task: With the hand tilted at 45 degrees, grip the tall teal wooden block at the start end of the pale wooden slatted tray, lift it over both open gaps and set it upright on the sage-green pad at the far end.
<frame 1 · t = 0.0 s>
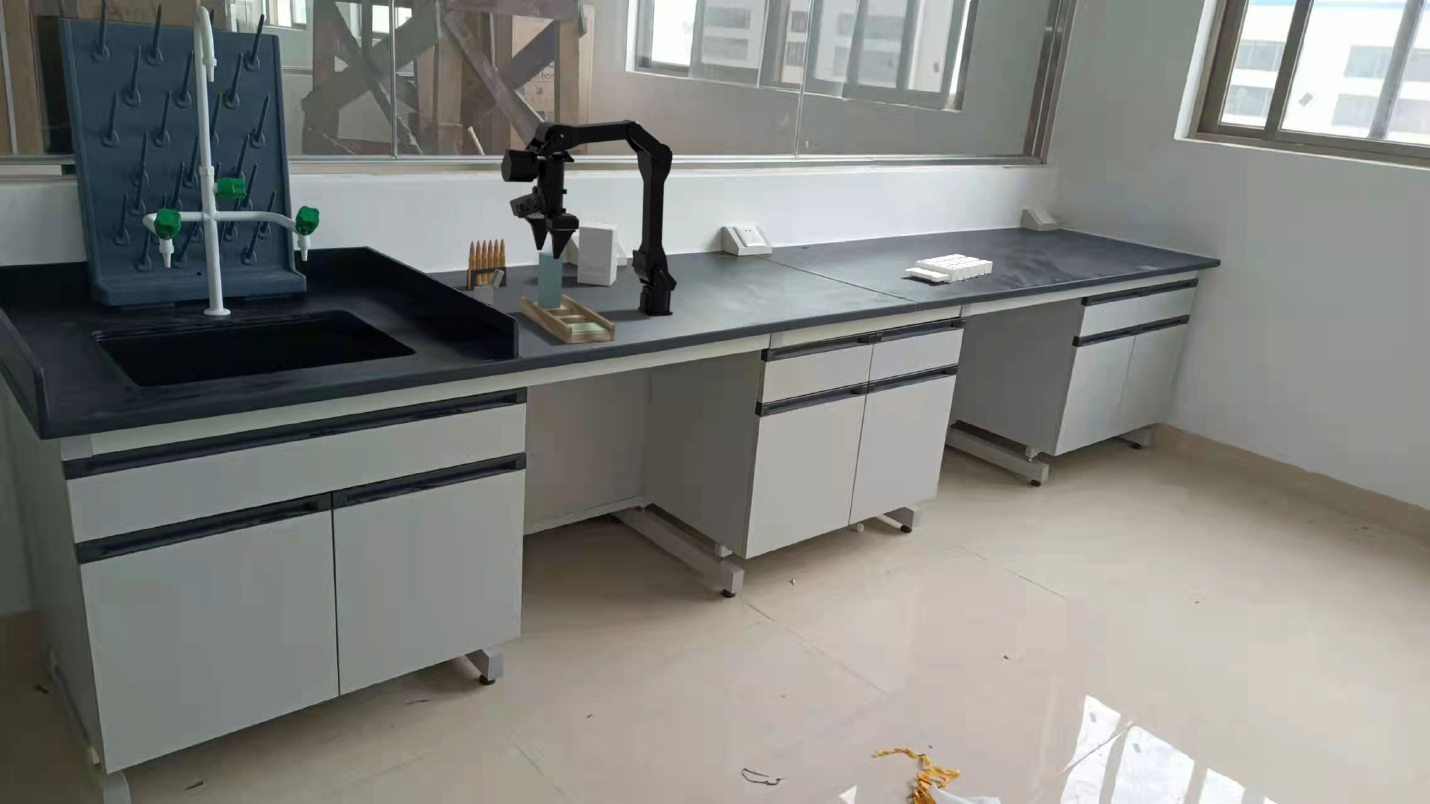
hand: (547, 254, 220), 15 cm above the counter, tool pointing down, fingers open, 9 cm apart
ammunition clip: (486, 288, 247), on the counter
lighter: (488, 304, 232), on the counter
wooden slatted tray: (563, 324, 222), on the counter
organizer: (946, 278, 317), on the counter
teal block: (548, 305, 228), point 2 cm above the counter, touching wooden slatted tray
supplement box: (596, 282, 265), on the counter
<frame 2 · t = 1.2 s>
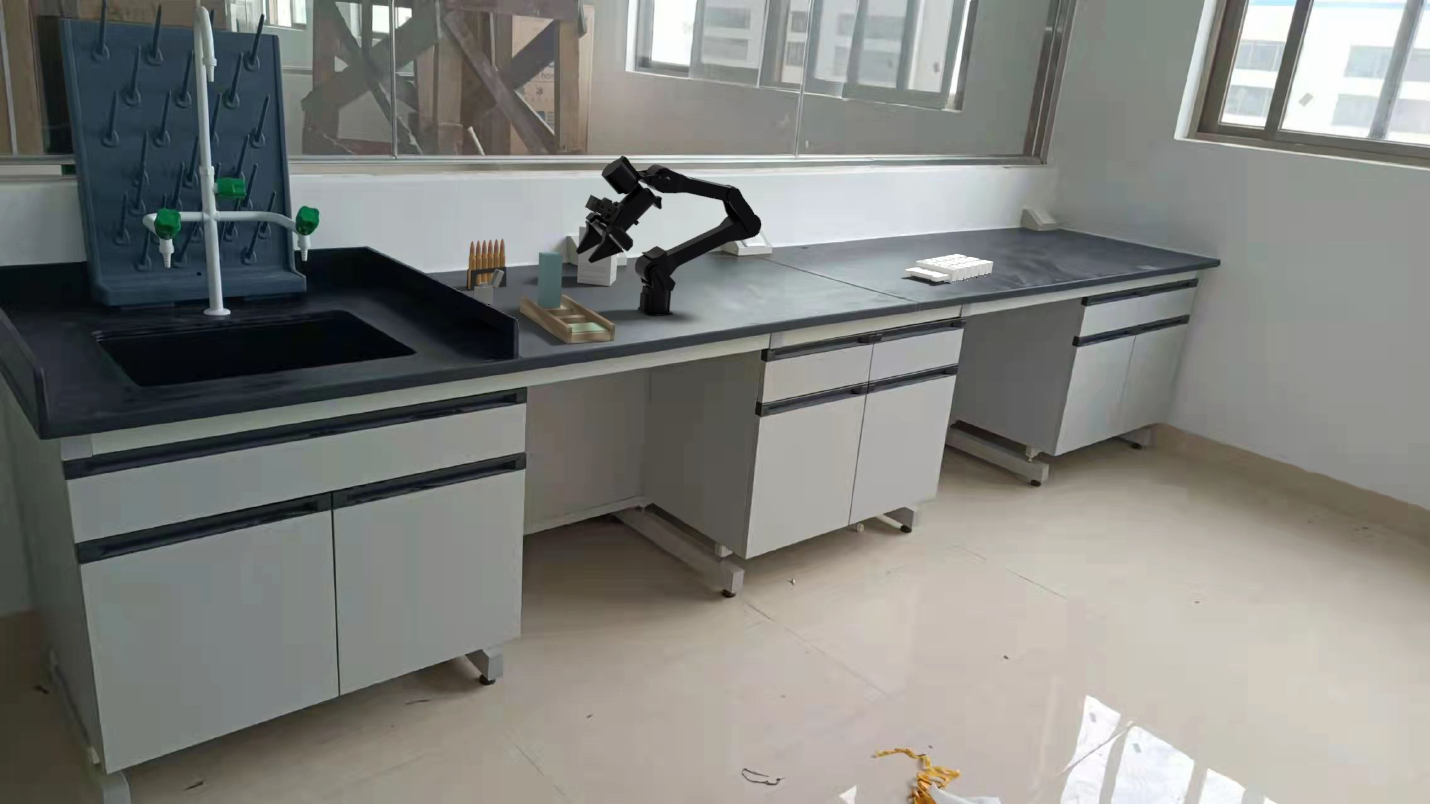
hand: (583, 257, 227), 13 cm above the counter, tool tilted 45°, fingers open, 9 cm apart
nothing on the counter moved.
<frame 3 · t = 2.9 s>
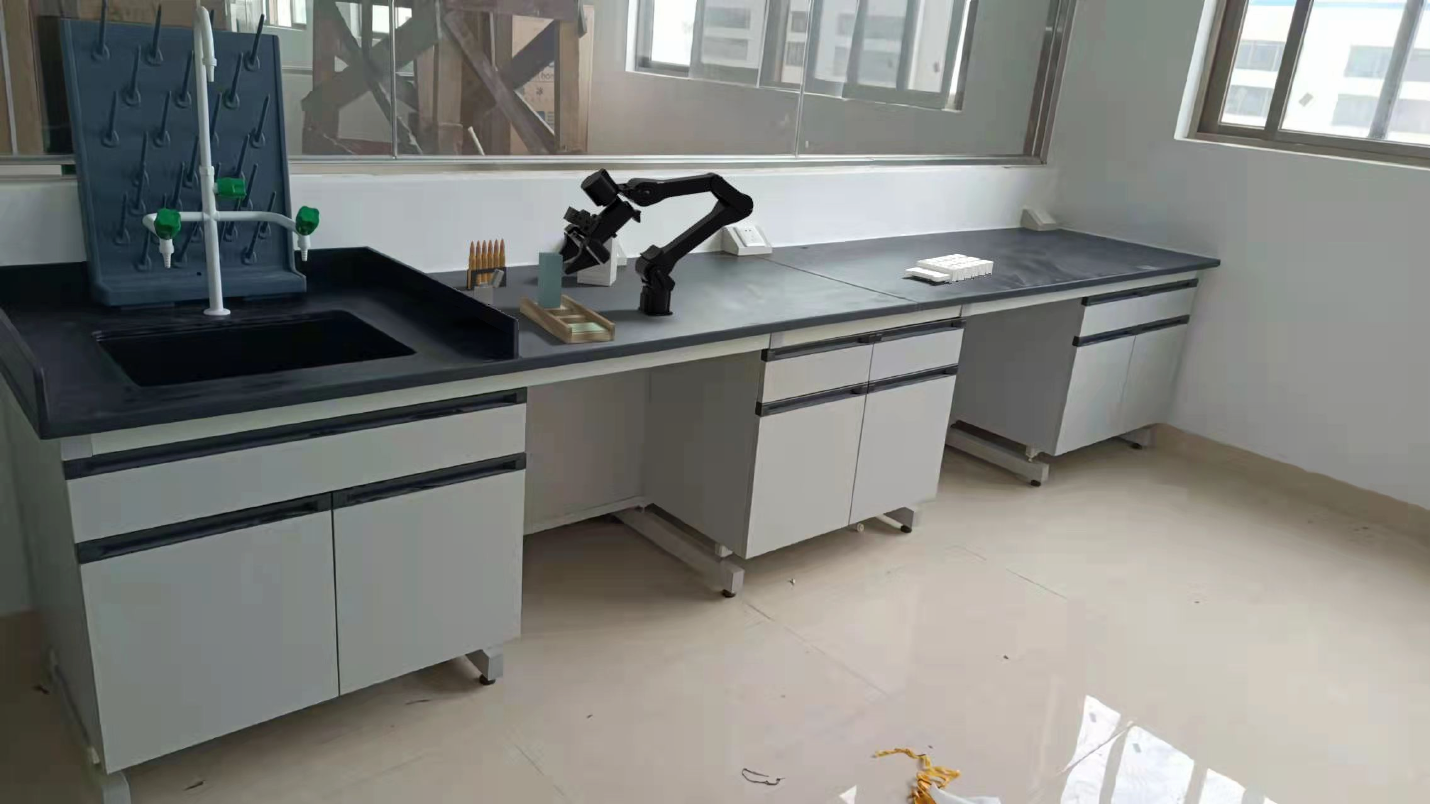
hand: (559, 268, 226), 11 cm above the counter, tool tilted 45°, fingers open, 9 cm apart
nothing on the counter moved.
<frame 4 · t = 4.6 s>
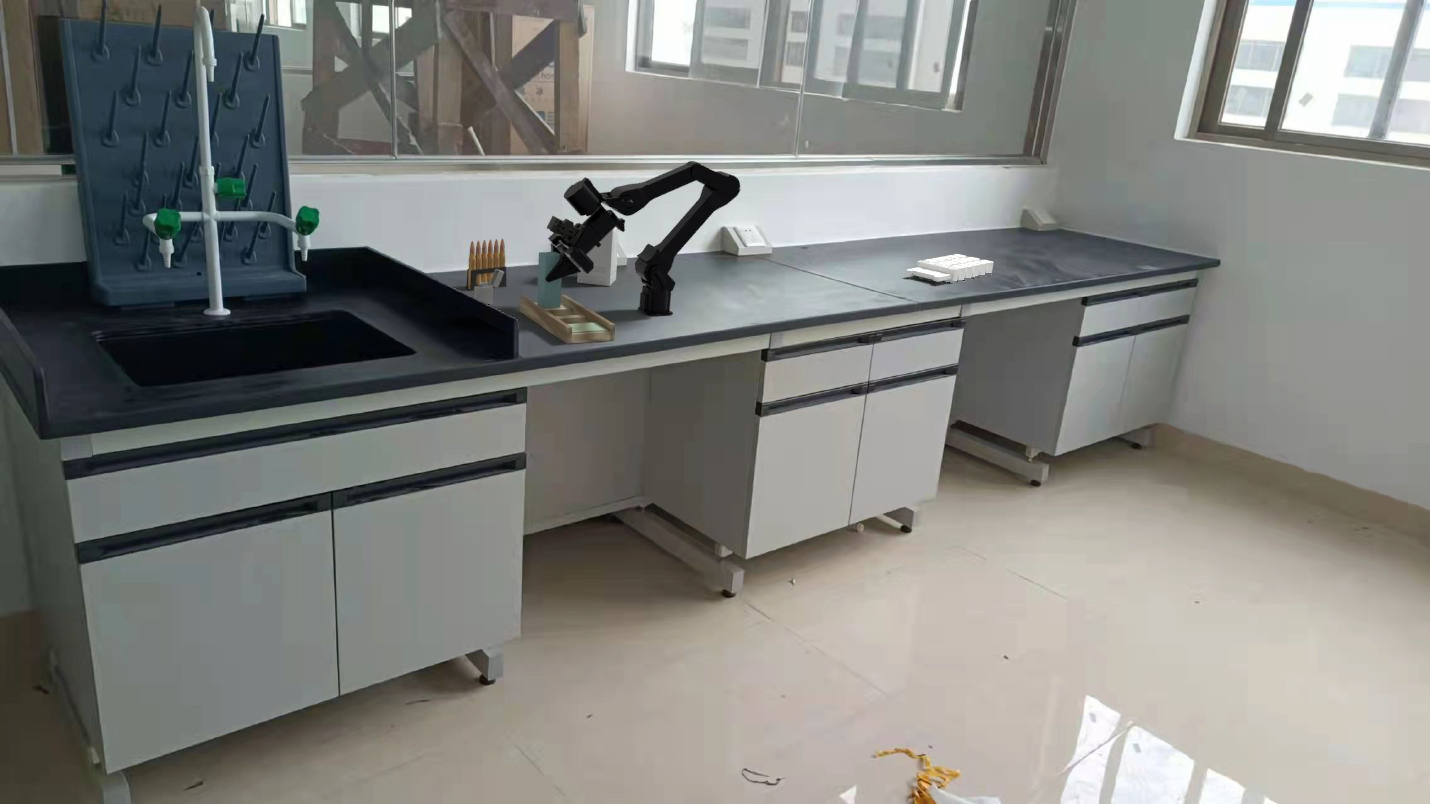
hand: (543, 278, 225), 8 cm above the counter, tool tilted 45°, fingers closed on teal block, 4 cm apart
teal block: (548, 305, 228), point 2 cm above the counter, touching gripper, wooden slatted tray
everything else where it was.
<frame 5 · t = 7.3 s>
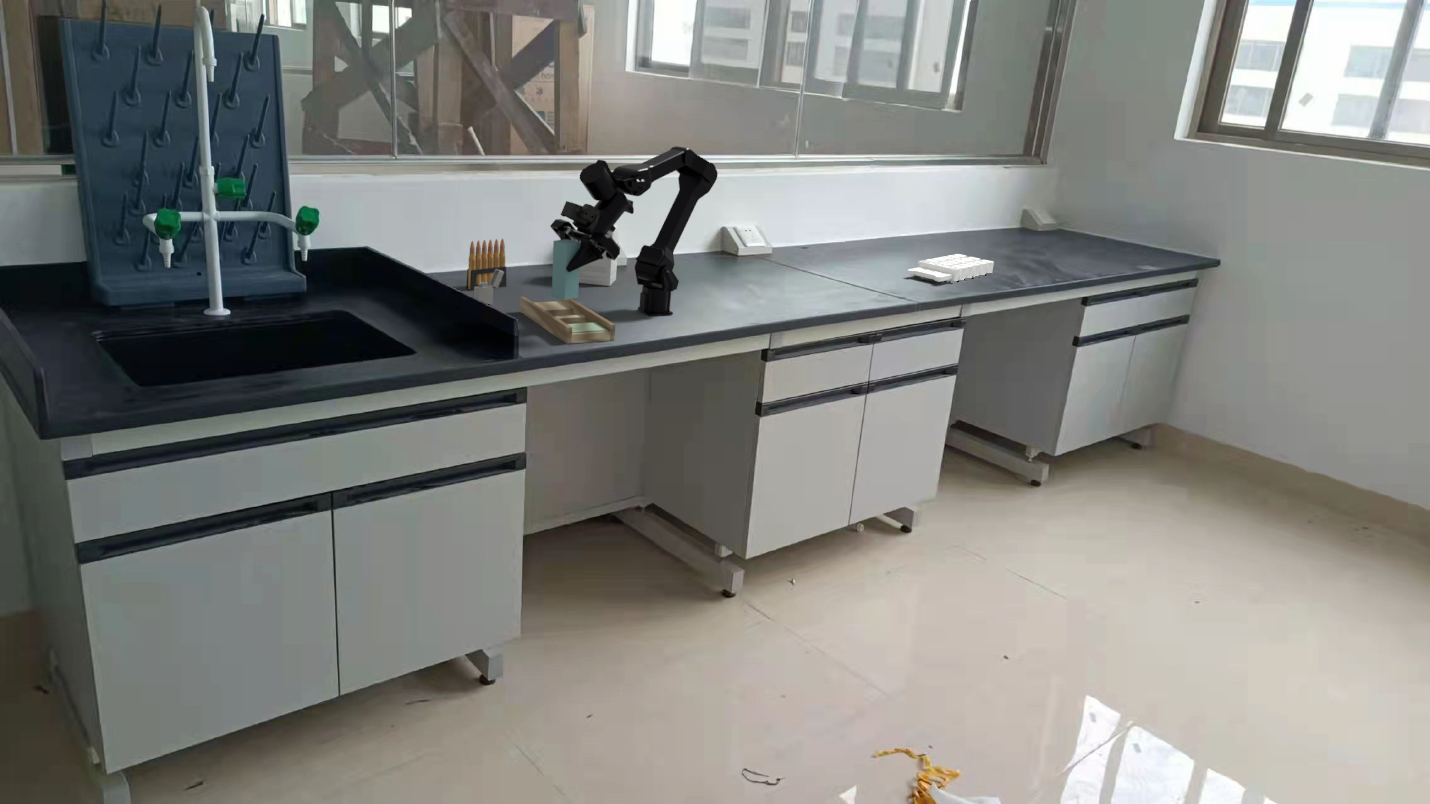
hand: (561, 268, 213), 14 cm above the counter, tool tilted 45°, fingers closed on teal block, 4 cm apart
teal block: (565, 296, 216), point 7 cm above the counter, touching gripper
when the fingers open (9 cm above the counter, at t = 9.9 s): teal block stays where it is, resting on wooden slatted tray.
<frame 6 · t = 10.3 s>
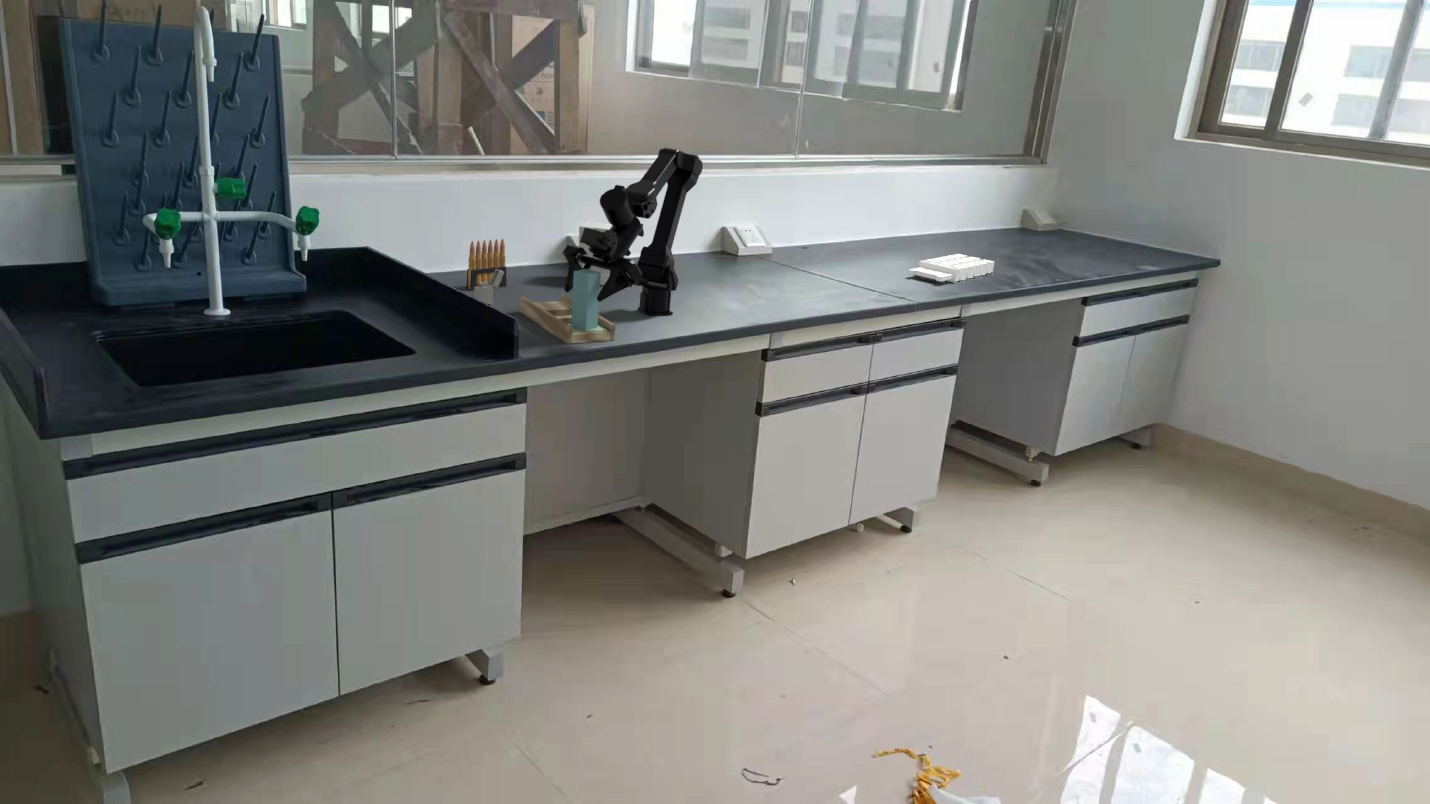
hand: (581, 295, 209), 9 cm above the counter, tool tilted 45°, fingers open, 9 cm apart
teal block: (584, 327, 213), point 2 cm above the counter, touching wooden slatted tray
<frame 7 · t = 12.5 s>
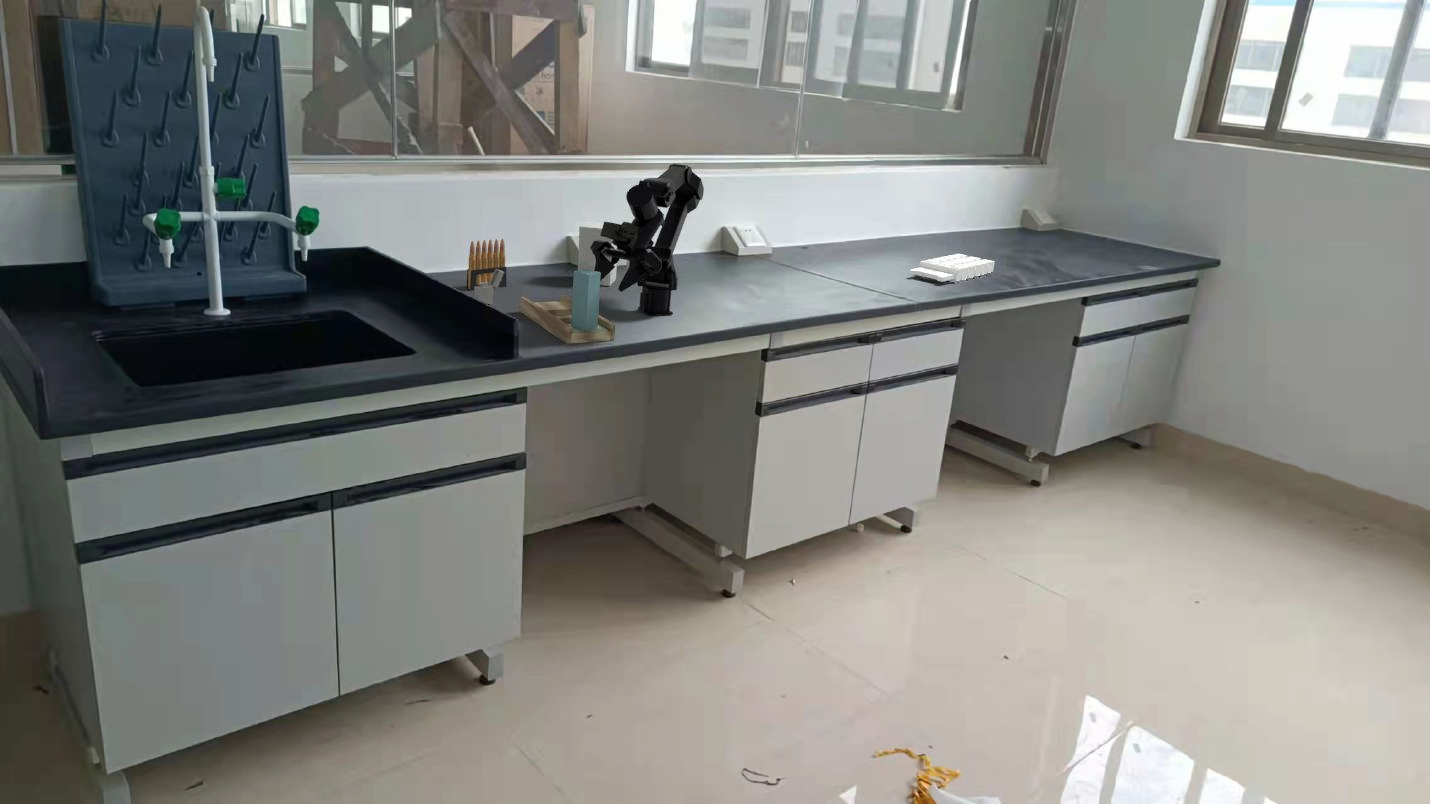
hand: (606, 287, 218), 10 cm above the counter, tool tilted 40°, fingers open, 9 cm apart
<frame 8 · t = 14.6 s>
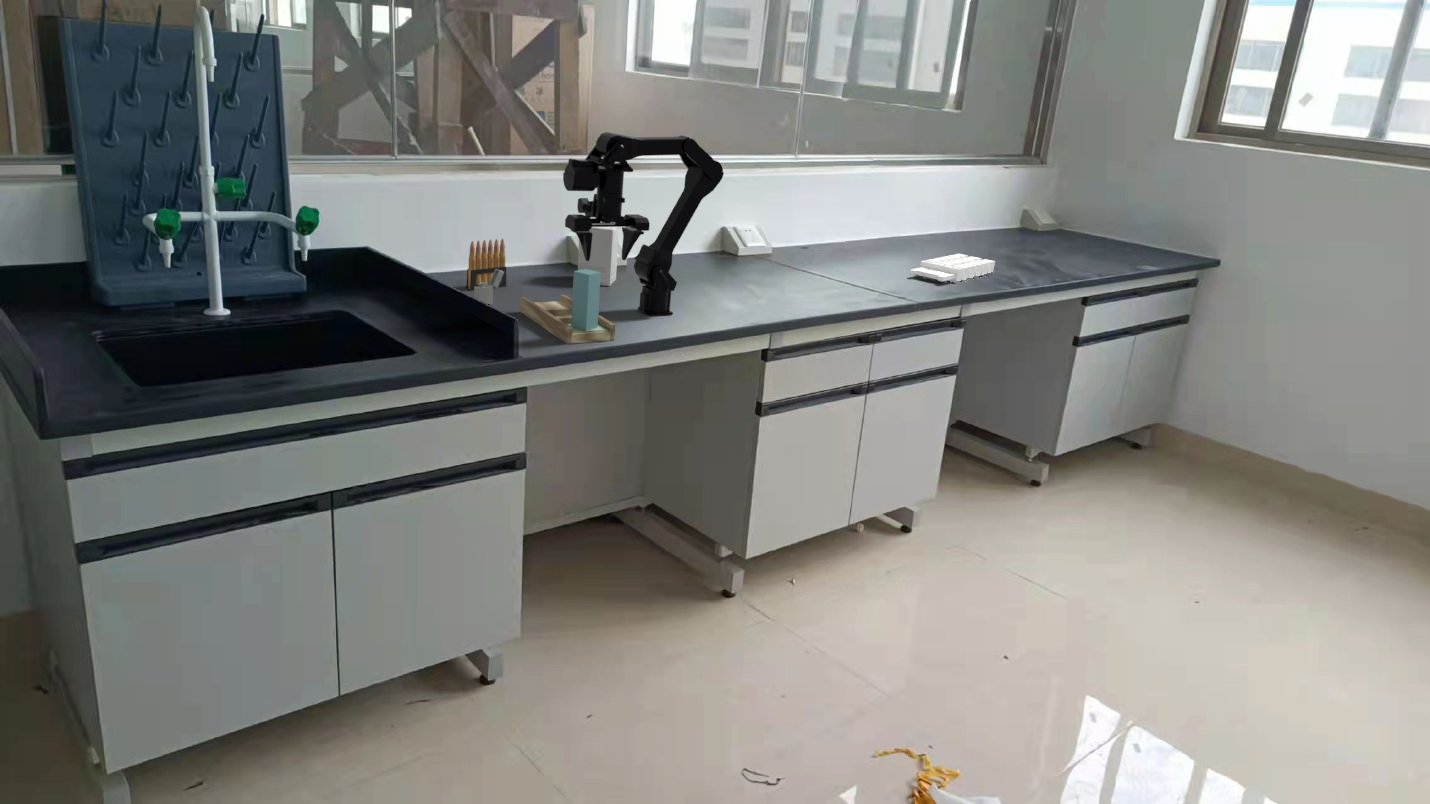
hand: (605, 260, 228), 13 cm above the counter, tool pointing down, fingers open, 9 cm apart
at the end: teal block 0.2 cm from the target spot on the wooden slatted tray, point 2.3 cm above the wooden slatted tray's base; teal block tilted 0°; the gripper is holding nothing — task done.
